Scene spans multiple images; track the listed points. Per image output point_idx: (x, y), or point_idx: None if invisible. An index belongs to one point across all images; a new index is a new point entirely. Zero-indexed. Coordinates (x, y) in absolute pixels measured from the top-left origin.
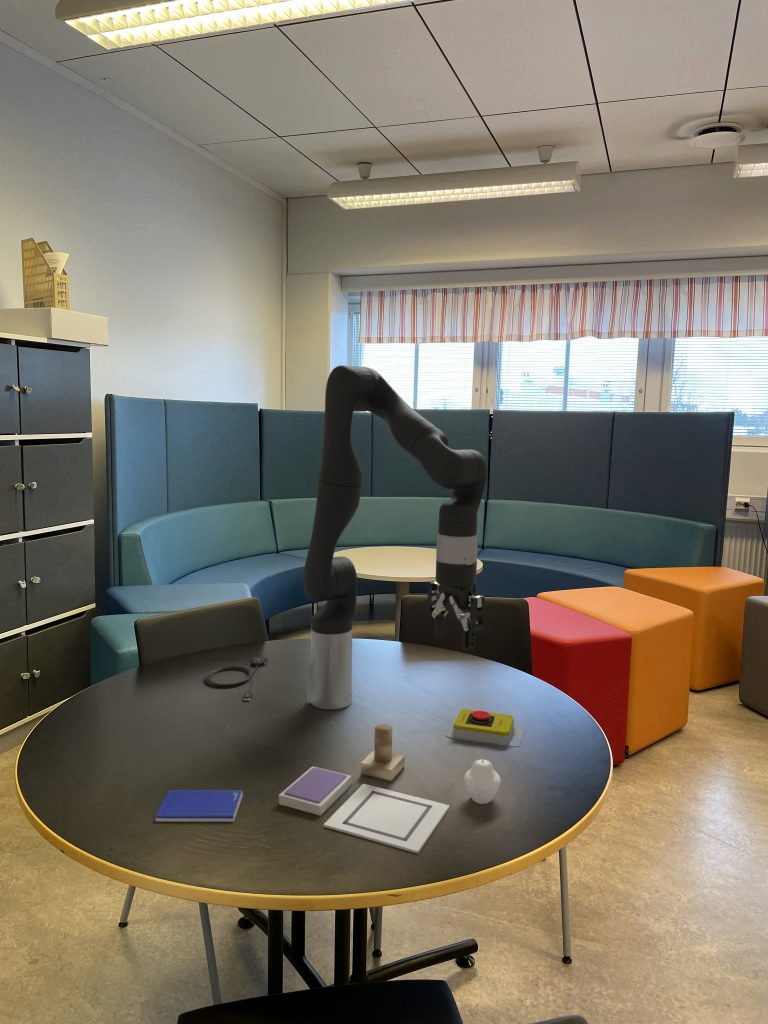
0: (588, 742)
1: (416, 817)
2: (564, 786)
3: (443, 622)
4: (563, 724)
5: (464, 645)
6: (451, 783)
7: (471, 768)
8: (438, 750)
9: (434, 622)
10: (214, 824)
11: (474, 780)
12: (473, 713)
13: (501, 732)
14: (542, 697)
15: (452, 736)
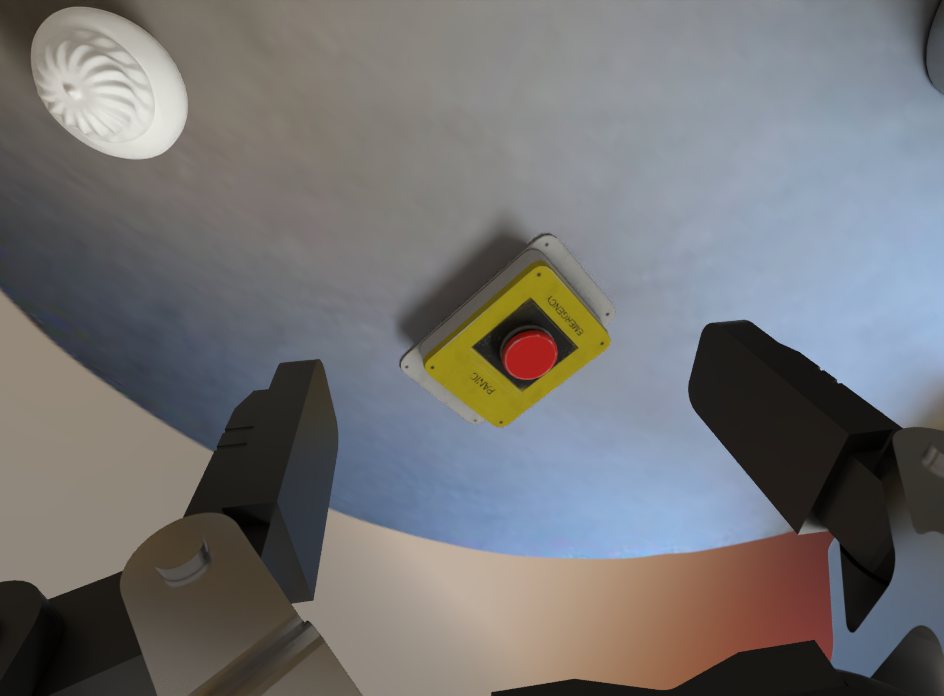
0: (350, 497)
1: None
2: (165, 342)
3: (773, 471)
4: (447, 500)
5: (279, 383)
6: (275, 54)
7: (109, 51)
8: (488, 157)
9: (859, 403)
10: None
11: (55, 23)
12: (546, 342)
13: (433, 354)
14: (576, 530)
15: (536, 247)
